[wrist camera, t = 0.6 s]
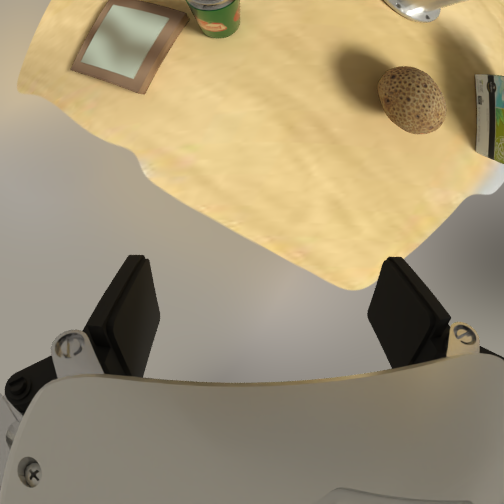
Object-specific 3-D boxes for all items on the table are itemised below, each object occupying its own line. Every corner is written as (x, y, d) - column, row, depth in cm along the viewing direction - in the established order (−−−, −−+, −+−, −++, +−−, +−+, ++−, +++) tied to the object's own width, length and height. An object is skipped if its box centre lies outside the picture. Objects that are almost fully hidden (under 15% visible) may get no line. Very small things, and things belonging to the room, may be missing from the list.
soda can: (192, 30, 26) (171, -3, 15) (214, 3, 24) (203, -38, 13) (225, 45, 27) (218, 15, 16) (247, 18, 25) (250, -21, 14)
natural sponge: (354, 105, 31) (390, 106, 22) (378, 57, 27) (418, 47, 19) (402, 140, 33) (443, 152, 24) (424, 94, 29) (467, 96, 21)
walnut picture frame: (119, 1, 21) (110, -6, 19) (189, 19, 25) (185, 12, 22) (79, 71, 26) (68, 69, 24) (144, 94, 29) (136, 93, 27)
